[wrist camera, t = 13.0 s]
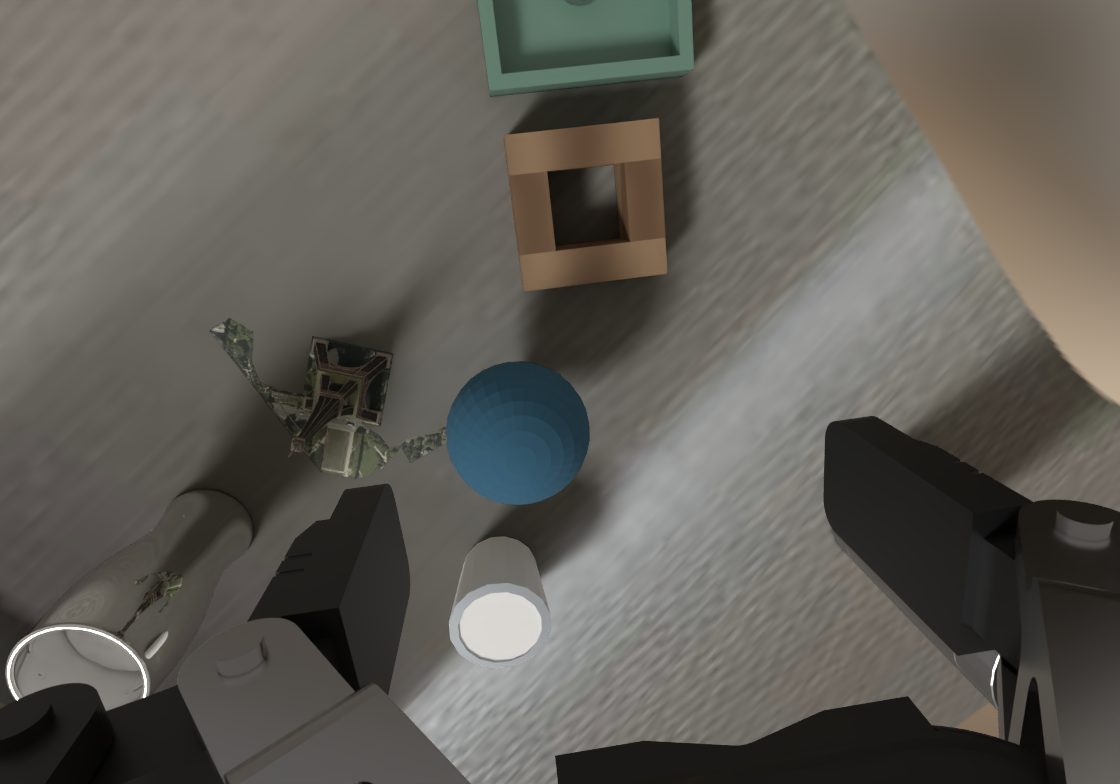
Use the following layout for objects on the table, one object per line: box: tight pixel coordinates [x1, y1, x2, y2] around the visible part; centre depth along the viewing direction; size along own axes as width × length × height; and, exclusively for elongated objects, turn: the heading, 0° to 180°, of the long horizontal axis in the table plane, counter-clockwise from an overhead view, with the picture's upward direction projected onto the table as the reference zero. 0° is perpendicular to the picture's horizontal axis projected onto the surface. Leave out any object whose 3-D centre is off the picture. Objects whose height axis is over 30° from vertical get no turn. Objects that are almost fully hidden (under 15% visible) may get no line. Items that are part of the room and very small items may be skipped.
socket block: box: [504, 118, 667, 292], centre depth 39 cm, size 9×9×4 cm
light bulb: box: [446, 361, 589, 505], centre depth 39 cm, size 8×8×12 cm
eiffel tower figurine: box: [210, 318, 447, 479], centre depth 37 cm, size 15×10×13 cm
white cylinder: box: [449, 536, 551, 669], centre depth 45 cm, size 7×7×7 cm
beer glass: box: [6, 489, 253, 711], centre depth 38 cm, size 7×7×15 cm
